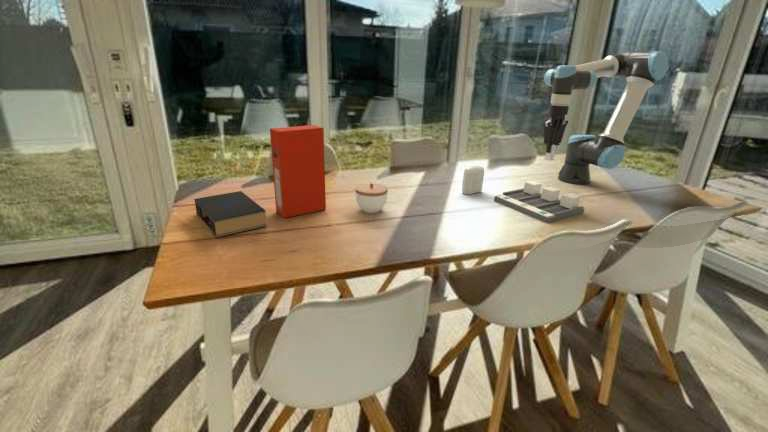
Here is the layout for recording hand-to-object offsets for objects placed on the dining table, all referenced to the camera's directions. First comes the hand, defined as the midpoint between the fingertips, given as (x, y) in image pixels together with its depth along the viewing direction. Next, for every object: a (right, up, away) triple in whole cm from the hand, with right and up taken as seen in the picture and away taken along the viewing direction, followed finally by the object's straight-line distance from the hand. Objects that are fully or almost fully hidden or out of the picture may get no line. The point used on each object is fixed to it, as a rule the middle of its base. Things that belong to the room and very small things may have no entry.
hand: (549, 159), depth 180 cm
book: (-128, -27, -31) cm, 135 cm away
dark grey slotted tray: (-9, -21, -9) cm, 24 cm away
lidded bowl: (-78, -22, -17) cm, 83 cm away
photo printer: (-33, -14, +7) cm, 36 cm away
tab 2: (+2, -21, -14) cm, 25 cm away
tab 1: (-7, -14, +1) cm, 16 cm away
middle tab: (-2, -18, -6) cm, 19 cm away
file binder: (-105, -23, -21) cm, 109 cm away
